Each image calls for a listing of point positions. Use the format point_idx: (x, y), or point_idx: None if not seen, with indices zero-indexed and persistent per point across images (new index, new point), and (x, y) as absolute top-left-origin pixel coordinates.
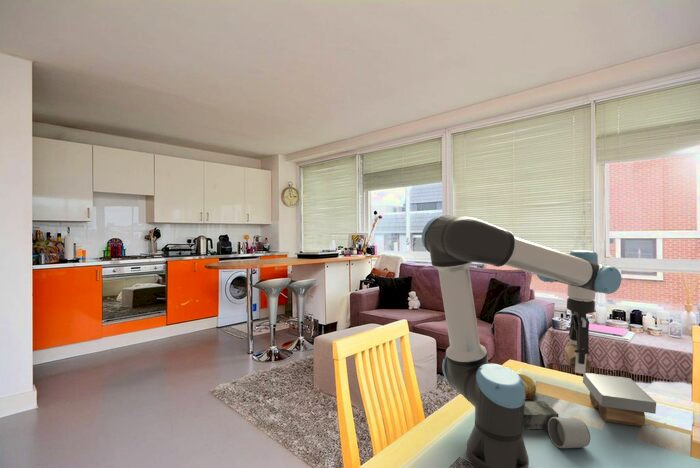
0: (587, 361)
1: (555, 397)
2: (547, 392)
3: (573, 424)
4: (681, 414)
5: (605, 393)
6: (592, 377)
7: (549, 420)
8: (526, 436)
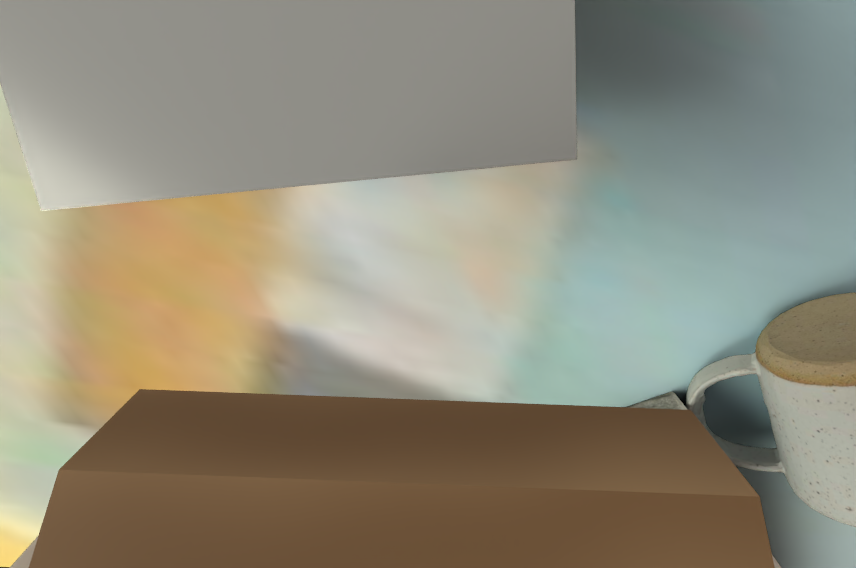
0: (752, 559)
1: (258, 340)
2: (208, 377)
3: None
4: None
5: (521, 112)
6: (136, 144)
7: (834, 516)
8: (778, 534)
